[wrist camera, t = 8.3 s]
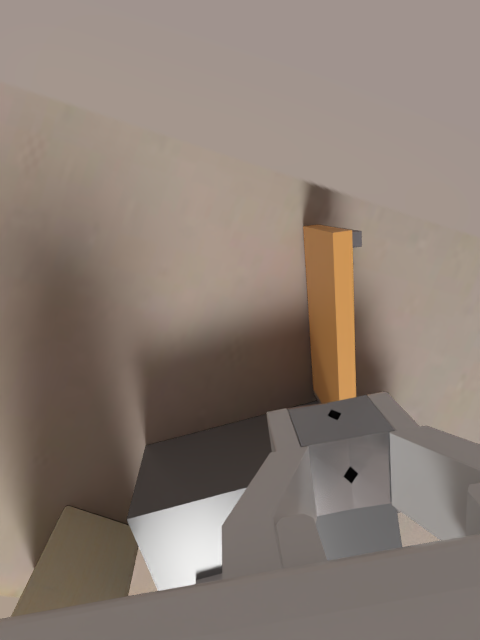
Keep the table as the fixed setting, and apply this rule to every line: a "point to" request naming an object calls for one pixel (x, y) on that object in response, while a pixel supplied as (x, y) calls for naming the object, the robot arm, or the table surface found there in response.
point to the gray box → (225, 504)
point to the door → (331, 309)
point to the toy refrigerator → (81, 564)
